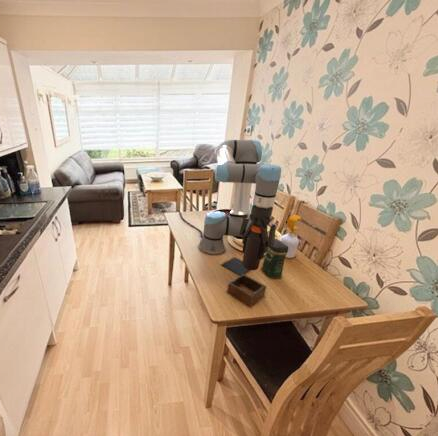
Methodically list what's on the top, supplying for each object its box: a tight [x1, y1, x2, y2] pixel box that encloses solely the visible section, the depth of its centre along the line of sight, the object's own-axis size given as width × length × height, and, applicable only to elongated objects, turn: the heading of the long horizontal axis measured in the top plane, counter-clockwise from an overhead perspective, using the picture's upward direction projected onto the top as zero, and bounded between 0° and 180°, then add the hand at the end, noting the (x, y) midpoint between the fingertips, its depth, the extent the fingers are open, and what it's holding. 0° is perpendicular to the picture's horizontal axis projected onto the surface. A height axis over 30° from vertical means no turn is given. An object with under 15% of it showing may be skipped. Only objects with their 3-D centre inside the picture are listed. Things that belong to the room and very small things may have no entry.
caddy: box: [226, 273, 267, 308], centre depth 109 cm, size 12×12×6 cm
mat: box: [221, 257, 250, 276], centre depth 130 cm, size 12×12×1 cm
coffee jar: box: [261, 238, 288, 279], centre depth 121 cm, size 10×8×19 cm
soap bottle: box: [279, 214, 302, 259], centre depth 136 cm, size 9×9×25 cm
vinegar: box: [242, 225, 265, 271], centre depth 101 cm, size 7×7×20 cm
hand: (252, 254), depth 103 cm, fingers closed on vinegar, 7 cm apart
